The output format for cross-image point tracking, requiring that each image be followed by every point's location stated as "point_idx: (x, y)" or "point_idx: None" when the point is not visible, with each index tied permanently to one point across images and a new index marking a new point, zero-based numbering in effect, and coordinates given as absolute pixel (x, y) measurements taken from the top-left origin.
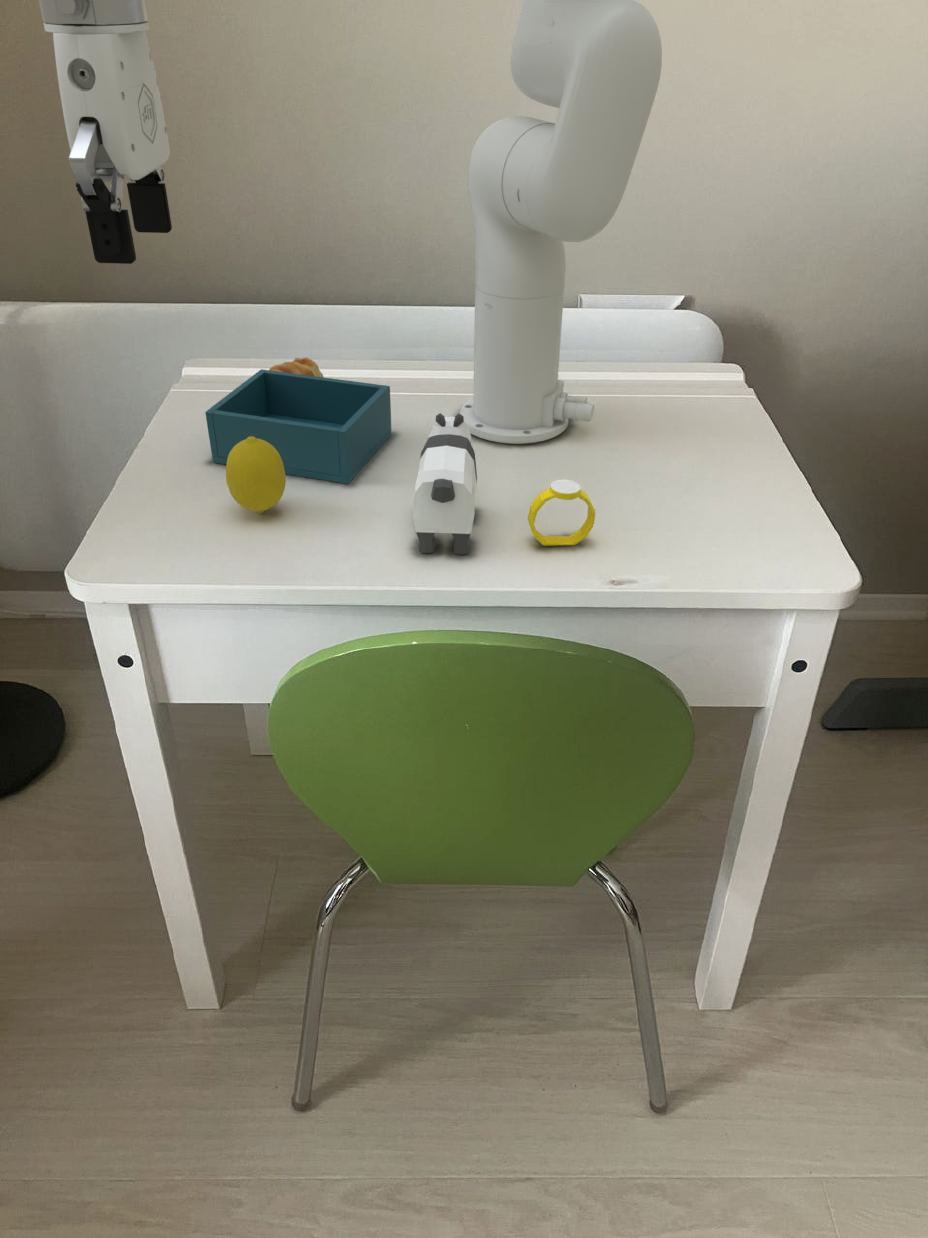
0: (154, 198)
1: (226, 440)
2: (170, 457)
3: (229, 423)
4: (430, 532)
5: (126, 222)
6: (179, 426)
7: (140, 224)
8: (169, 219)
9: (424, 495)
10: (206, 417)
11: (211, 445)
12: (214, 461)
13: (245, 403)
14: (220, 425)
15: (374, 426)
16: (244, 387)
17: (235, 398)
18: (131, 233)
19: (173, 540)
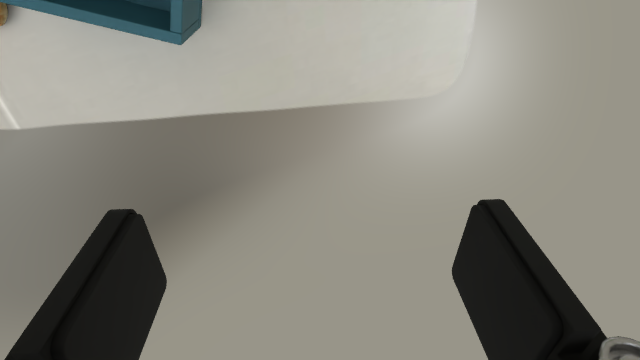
0: (101, 322)
1: (193, 7)
2: (199, 83)
3: (186, 2)
4: None
5: (570, 292)
6: (117, 98)
7: (158, 286)
8: (107, 231)
9: None
10: (183, 42)
11: (194, 30)
12: (200, 24)
13: (86, 2)
14: (187, 18)
15: None
16: (68, 6)
17: (107, 13)
18: (525, 255)
19: (390, 19)
